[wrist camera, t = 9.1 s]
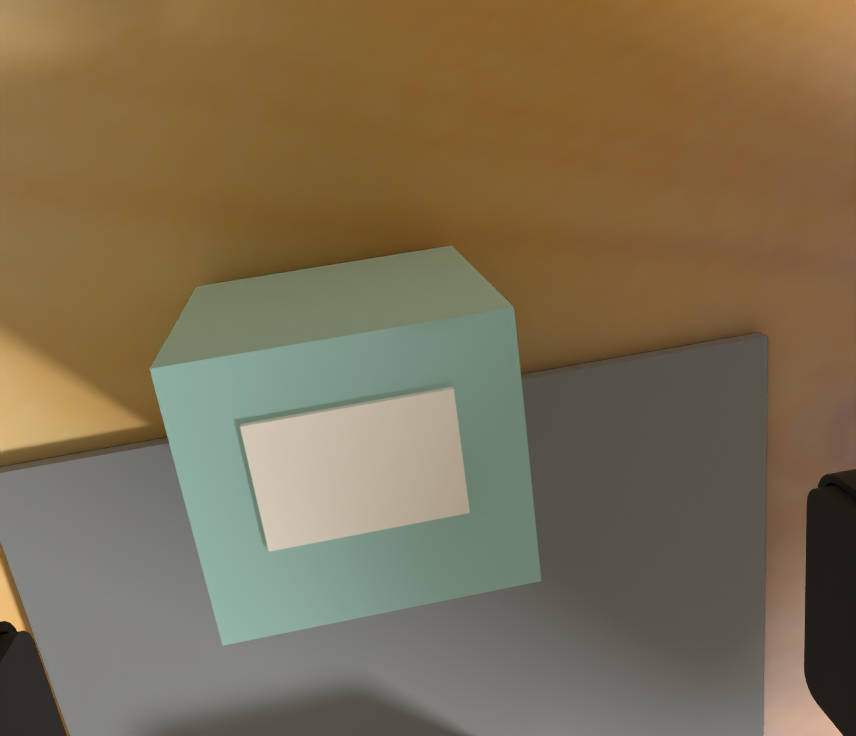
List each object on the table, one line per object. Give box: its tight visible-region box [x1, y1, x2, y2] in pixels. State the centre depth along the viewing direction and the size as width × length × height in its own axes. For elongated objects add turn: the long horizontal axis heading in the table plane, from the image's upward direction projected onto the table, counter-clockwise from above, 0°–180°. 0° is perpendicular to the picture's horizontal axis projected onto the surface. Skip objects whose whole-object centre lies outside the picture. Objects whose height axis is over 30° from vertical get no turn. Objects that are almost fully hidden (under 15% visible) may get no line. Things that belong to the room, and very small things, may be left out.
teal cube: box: [150, 245, 541, 646], centre depth 17 cm, size 6×5×6 cm
